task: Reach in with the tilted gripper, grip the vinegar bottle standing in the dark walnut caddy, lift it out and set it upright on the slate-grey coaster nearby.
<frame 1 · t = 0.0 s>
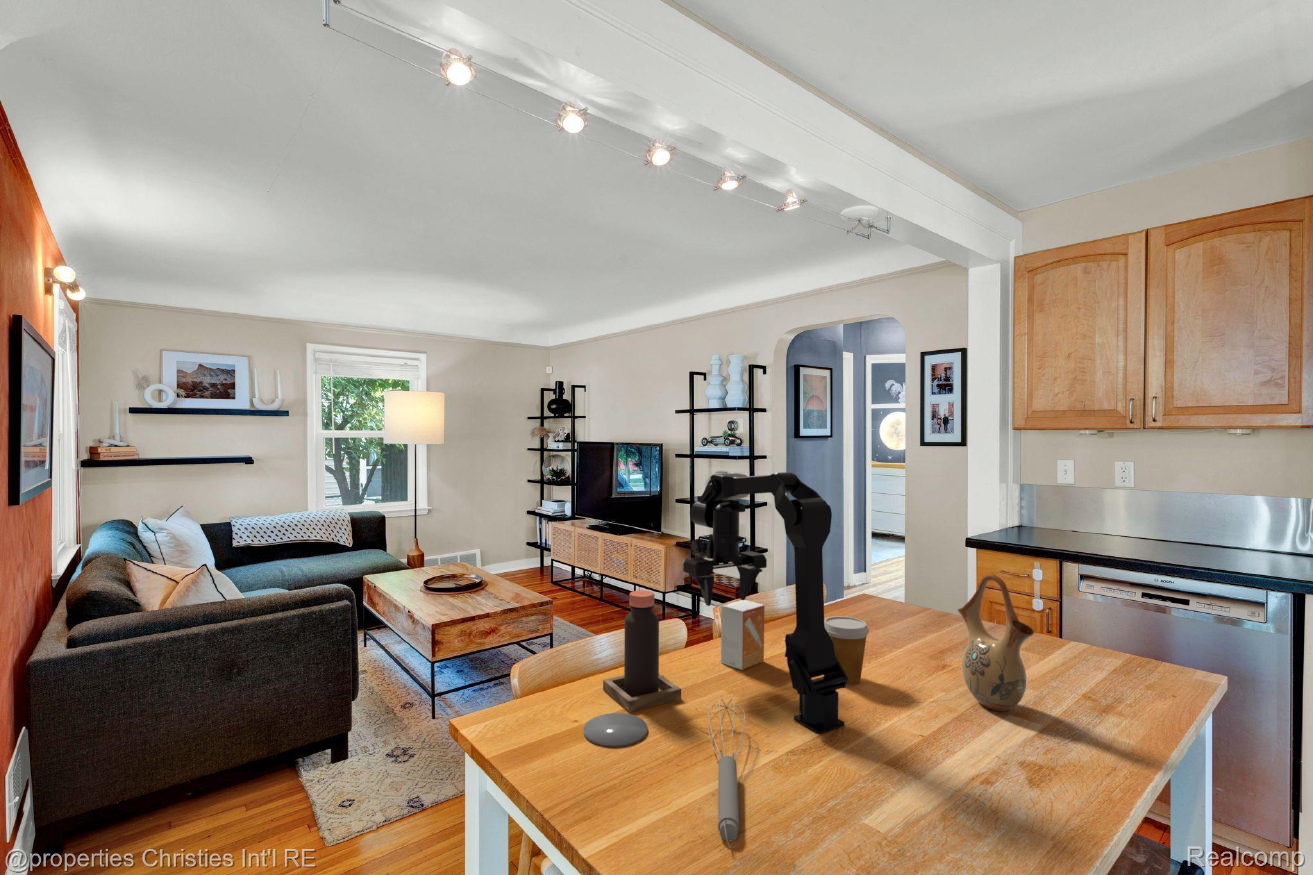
hand: (725, 602, 136), 15 cm above the table, tool pointing down, fingers open, 9 cm apart
vinegar: (641, 695, 123), resting in bottle caddy
kitchen whisk: (730, 778, 94), on the table
bottle caddy: (641, 694, 123), on the table
ceramic vessel: (992, 706, 118), on the table
slate coaster: (615, 730, 108), on the table
disposable coffee cup: (844, 680, 131), on the table
small box: (742, 663, 140), on the table
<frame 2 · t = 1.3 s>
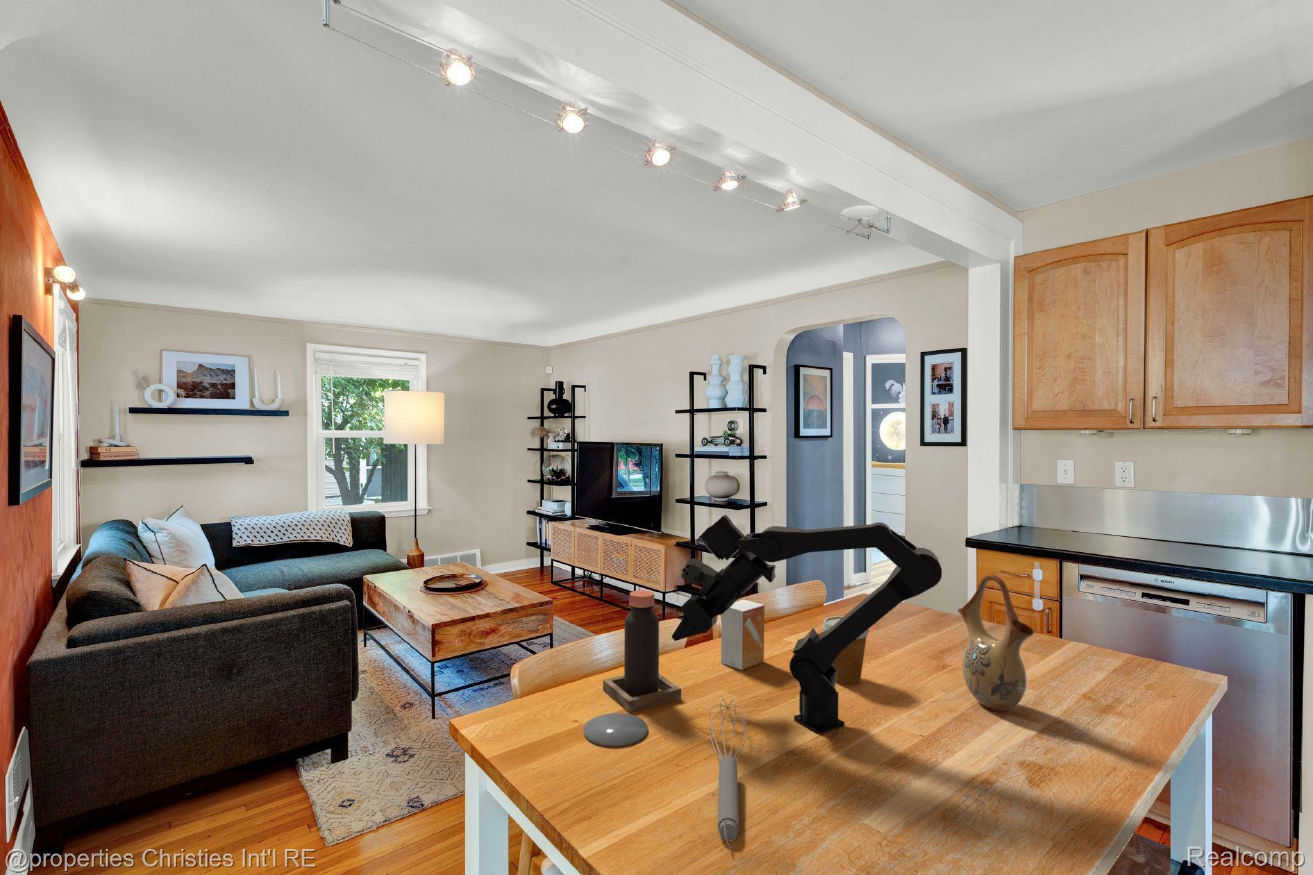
hand: (681, 631, 120), 13 cm above the table, tool tilted 45°, fingers open, 9 cm apart
nothing on the table moved.
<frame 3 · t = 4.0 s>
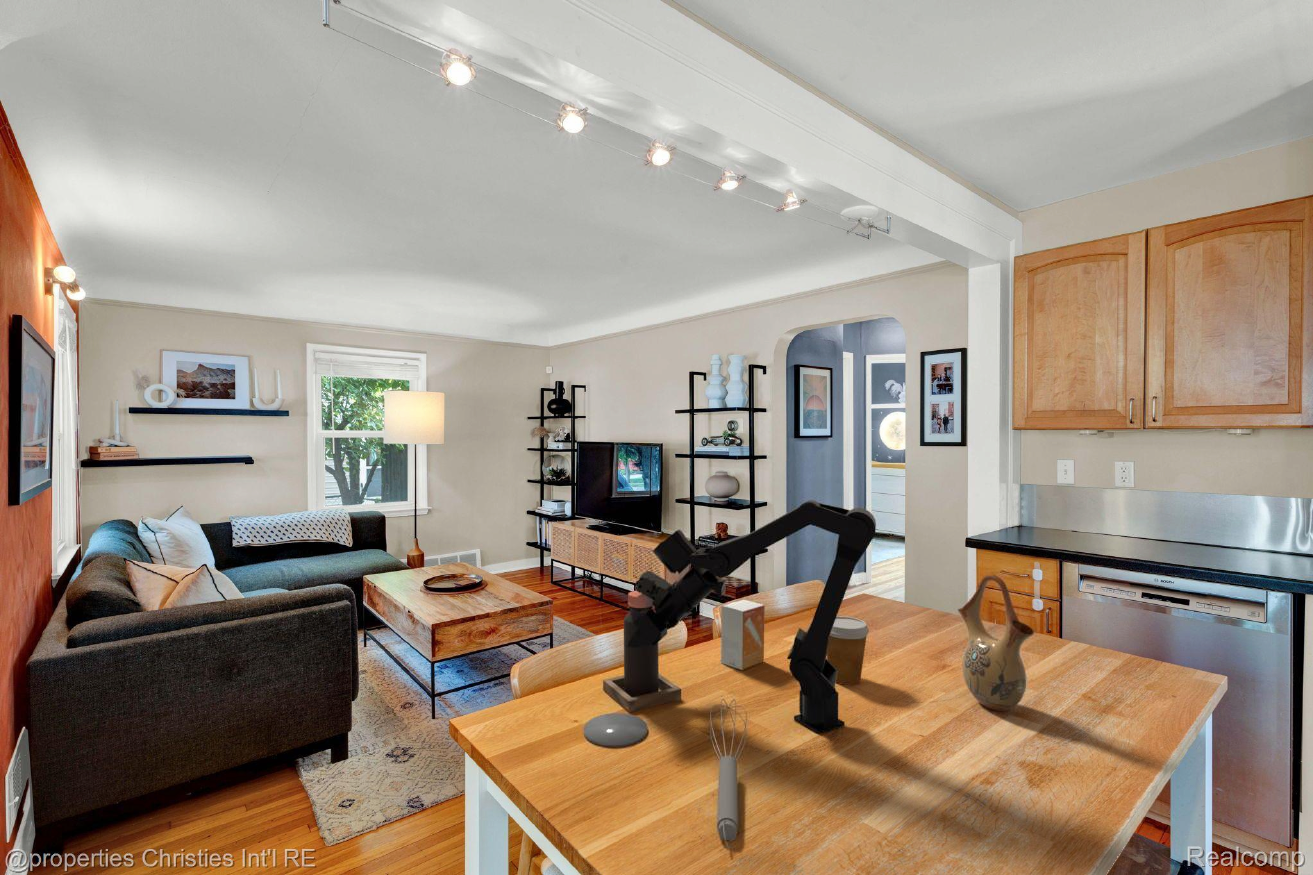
hand: (635, 641, 123), 10 cm above the table, tool tilted 45°, fingers closed on vinegar, 6 cm apart
vinegar: (641, 694, 123), resting in bottle caddy, touching gripper
everything else where it was.
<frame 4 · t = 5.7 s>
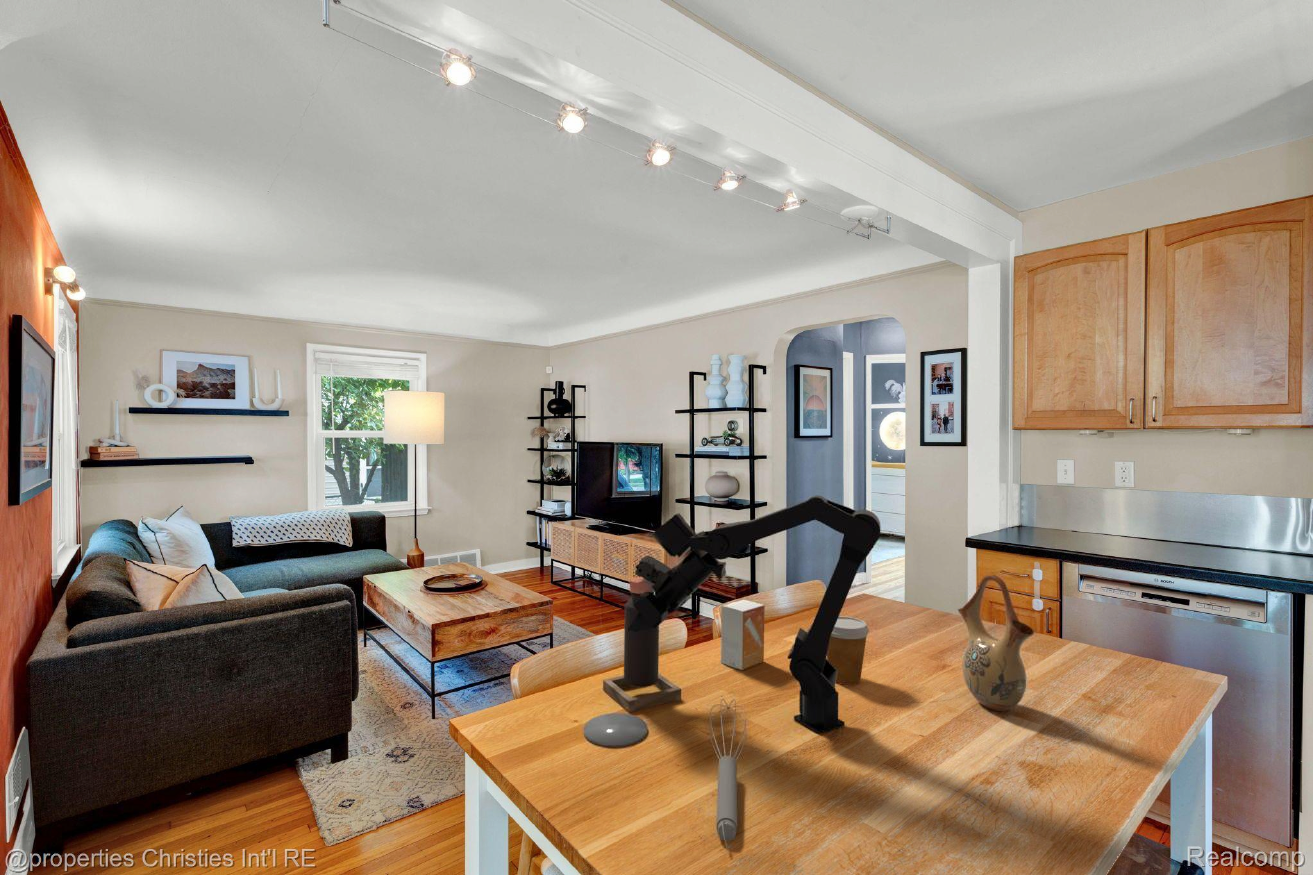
hand: (635, 626, 123), 13 cm above the table, tool tilted 45°, fingers closed on vinegar, 6 cm apart
vinegar: (640, 681, 122), point 3 cm above the table, touching gripper
everything else where it was.
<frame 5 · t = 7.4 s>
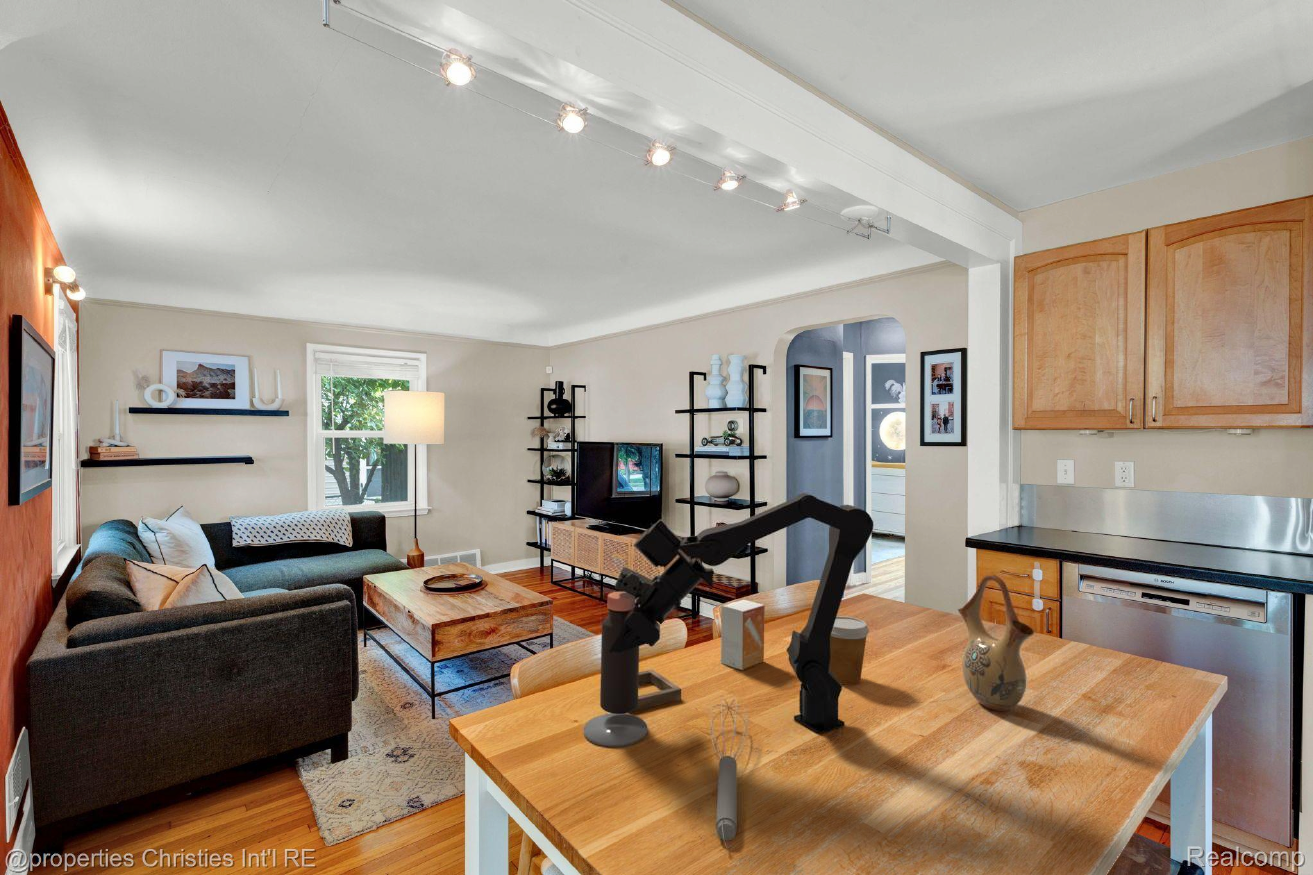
hand: (612, 646, 112), 13 cm above the table, tool tilted 45°, fingers closed on vinegar, 6 cm apart
vinegar: (619, 707, 111), point 2 cm above the table, touching gripper
everything else where it was.
when the fingers open (11 cm above the table, at t = 9.5 s): vinegar stays where it is, resting on slate coaster.
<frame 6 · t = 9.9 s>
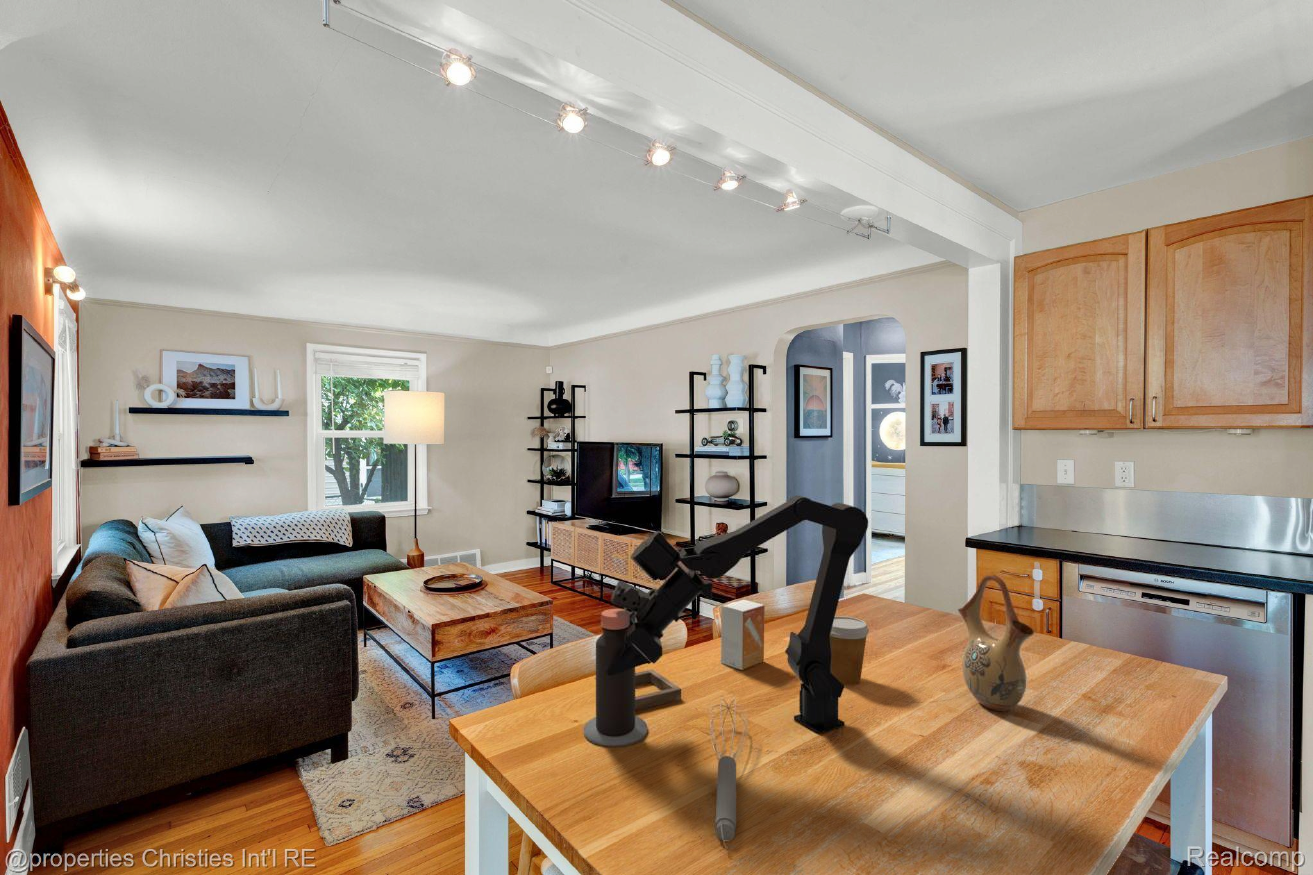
hand: (607, 663, 108), 12 cm above the table, tool tilted 45°, fingers open, 9 cm apart
vinegar: (615, 728, 108), resting on slate coaster
everything else where it was.
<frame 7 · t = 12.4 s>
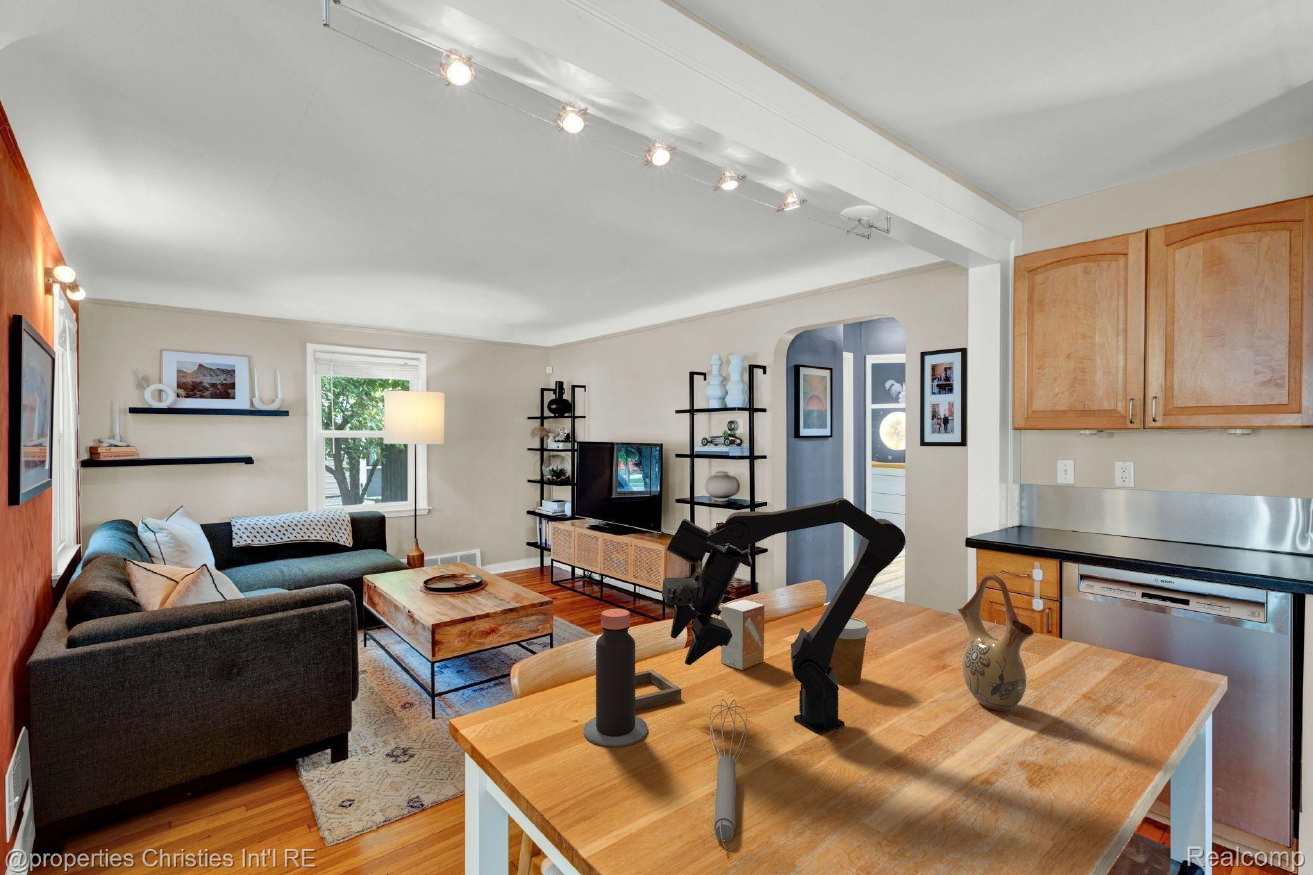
hand: (679, 650, 115), 11 cm above the table, tool tilted 25°, fingers open, 9 cm apart
nothing on the table moved.
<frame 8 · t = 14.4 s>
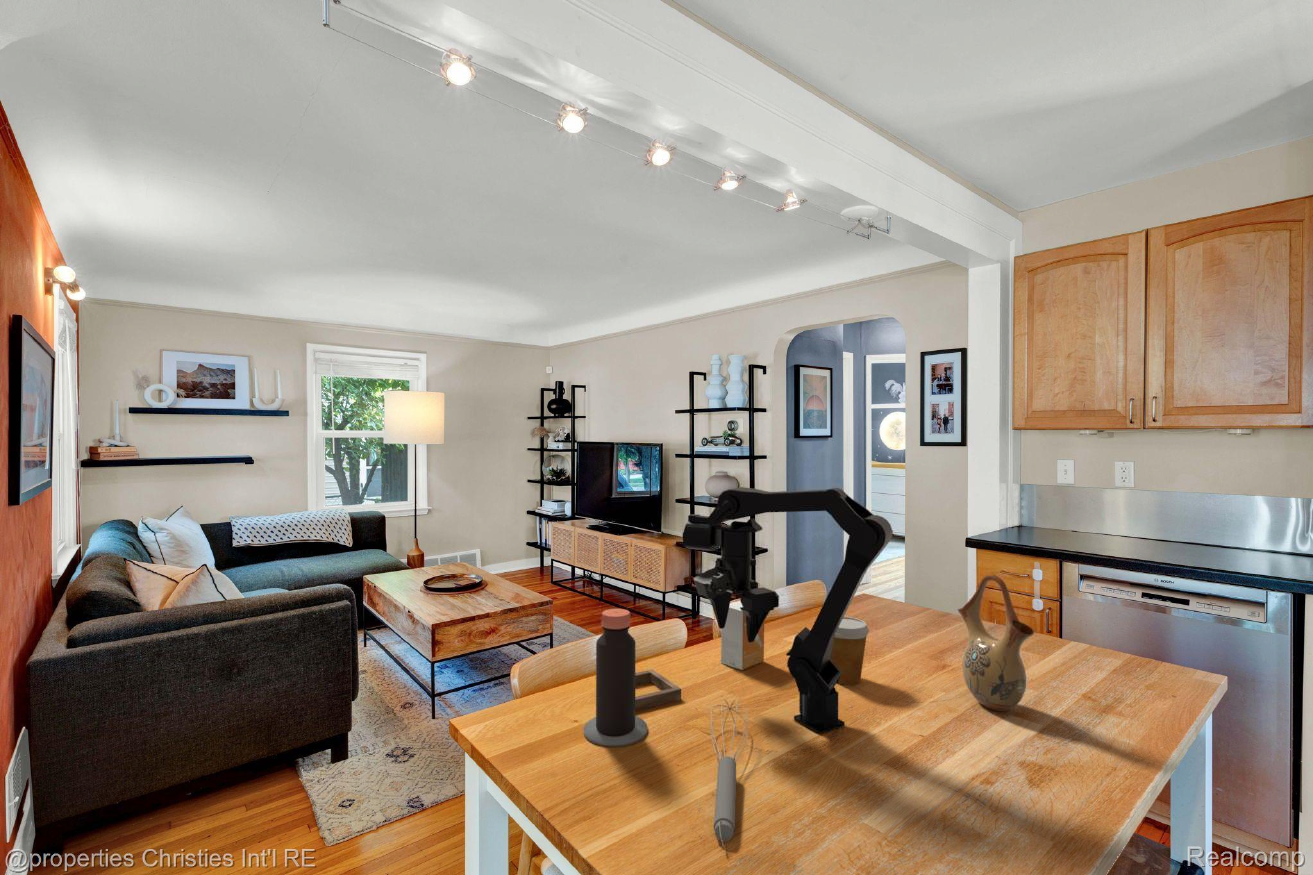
hand: (735, 634, 119), 13 cm above the table, tool pointing down, fingers open, 9 cm apart
nothing on the table moved.
at the end: vinegar 0.2 cm off-centre on the slate coaster, point 0.4 cm above the slate coaster's base; vinegar tilted 0°; the gripper is holding nothing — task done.
